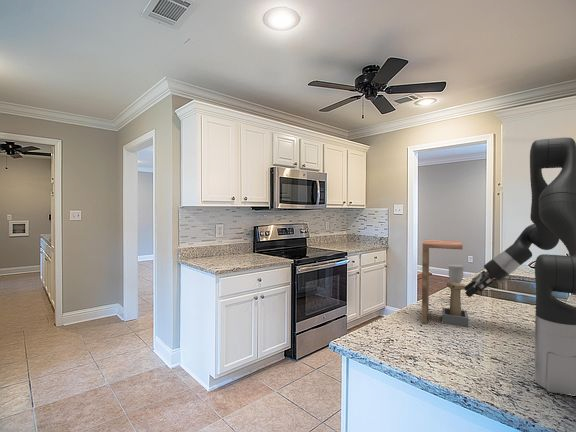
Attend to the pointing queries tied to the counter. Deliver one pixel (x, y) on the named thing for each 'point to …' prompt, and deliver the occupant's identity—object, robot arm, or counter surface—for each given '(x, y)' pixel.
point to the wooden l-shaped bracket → (425, 269)
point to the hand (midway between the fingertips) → (466, 292)
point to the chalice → (456, 273)
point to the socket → (455, 318)
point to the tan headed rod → (455, 298)
